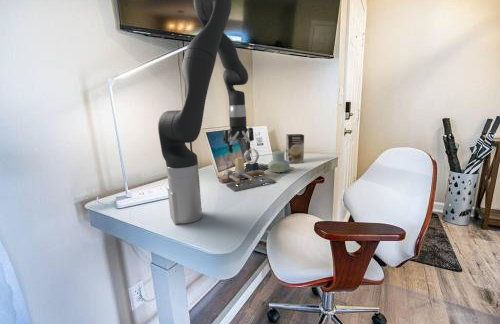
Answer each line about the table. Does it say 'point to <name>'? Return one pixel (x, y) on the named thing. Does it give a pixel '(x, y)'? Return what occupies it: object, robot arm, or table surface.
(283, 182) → the table surface
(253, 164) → the watch
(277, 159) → the air freshener
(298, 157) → the coffee box
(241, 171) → the sliding leg
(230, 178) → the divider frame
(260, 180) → the bolt plate
